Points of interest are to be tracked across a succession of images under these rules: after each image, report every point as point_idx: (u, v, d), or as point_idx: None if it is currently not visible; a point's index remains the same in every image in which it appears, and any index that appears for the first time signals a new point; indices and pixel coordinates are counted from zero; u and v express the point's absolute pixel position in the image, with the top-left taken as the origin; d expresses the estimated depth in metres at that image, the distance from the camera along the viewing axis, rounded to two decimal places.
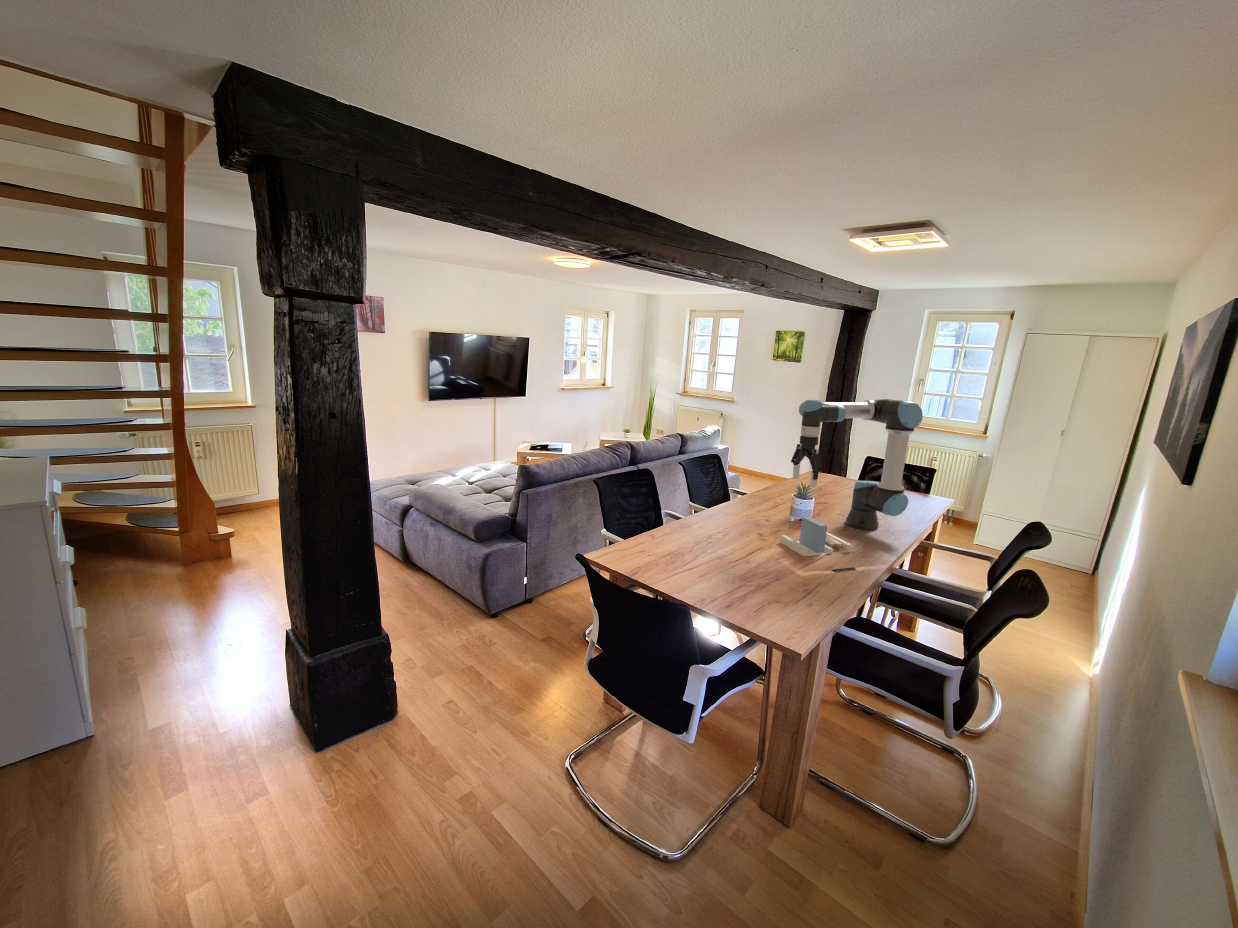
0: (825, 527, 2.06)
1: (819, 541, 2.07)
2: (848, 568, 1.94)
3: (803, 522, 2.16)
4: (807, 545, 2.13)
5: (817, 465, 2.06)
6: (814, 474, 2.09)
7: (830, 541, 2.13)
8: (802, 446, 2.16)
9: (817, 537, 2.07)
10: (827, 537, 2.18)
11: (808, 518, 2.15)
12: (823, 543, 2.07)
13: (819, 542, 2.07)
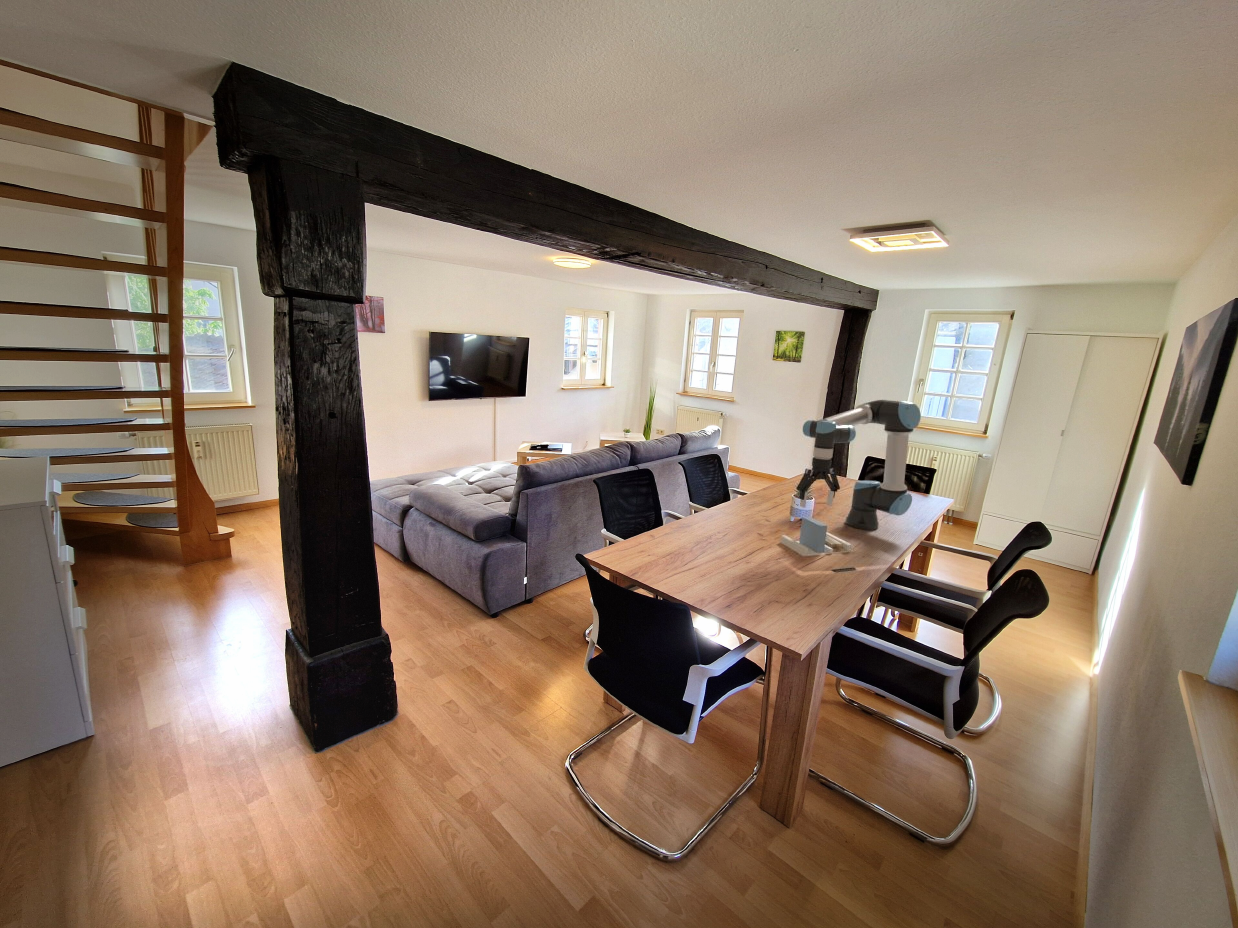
0: (825, 527, 2.06)
1: (819, 541, 2.07)
2: (848, 568, 1.94)
3: (803, 522, 2.16)
4: (807, 545, 2.13)
5: (799, 483, 2.06)
6: None
7: (830, 541, 2.13)
8: None
9: (817, 537, 2.07)
10: (827, 537, 2.18)
11: (808, 518, 2.15)
12: (823, 543, 2.07)
13: (819, 542, 2.07)
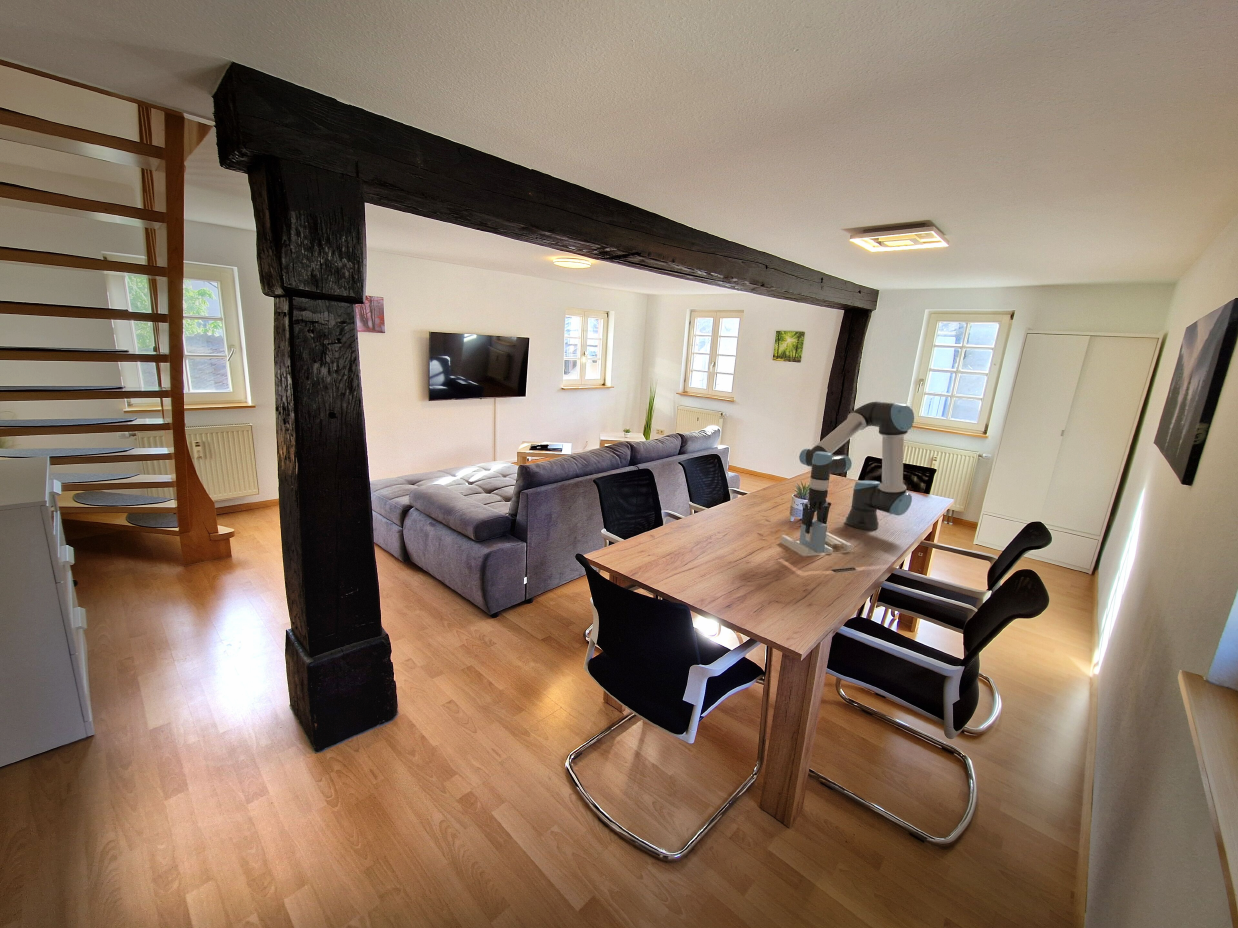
0: (825, 527, 2.06)
1: (819, 541, 2.07)
2: (848, 568, 1.94)
3: None
4: (807, 545, 2.13)
5: (802, 518, 2.10)
6: None
7: (830, 541, 2.13)
8: None
9: (817, 537, 2.07)
10: (827, 537, 2.18)
11: None
12: (823, 543, 2.07)
13: (819, 542, 2.07)
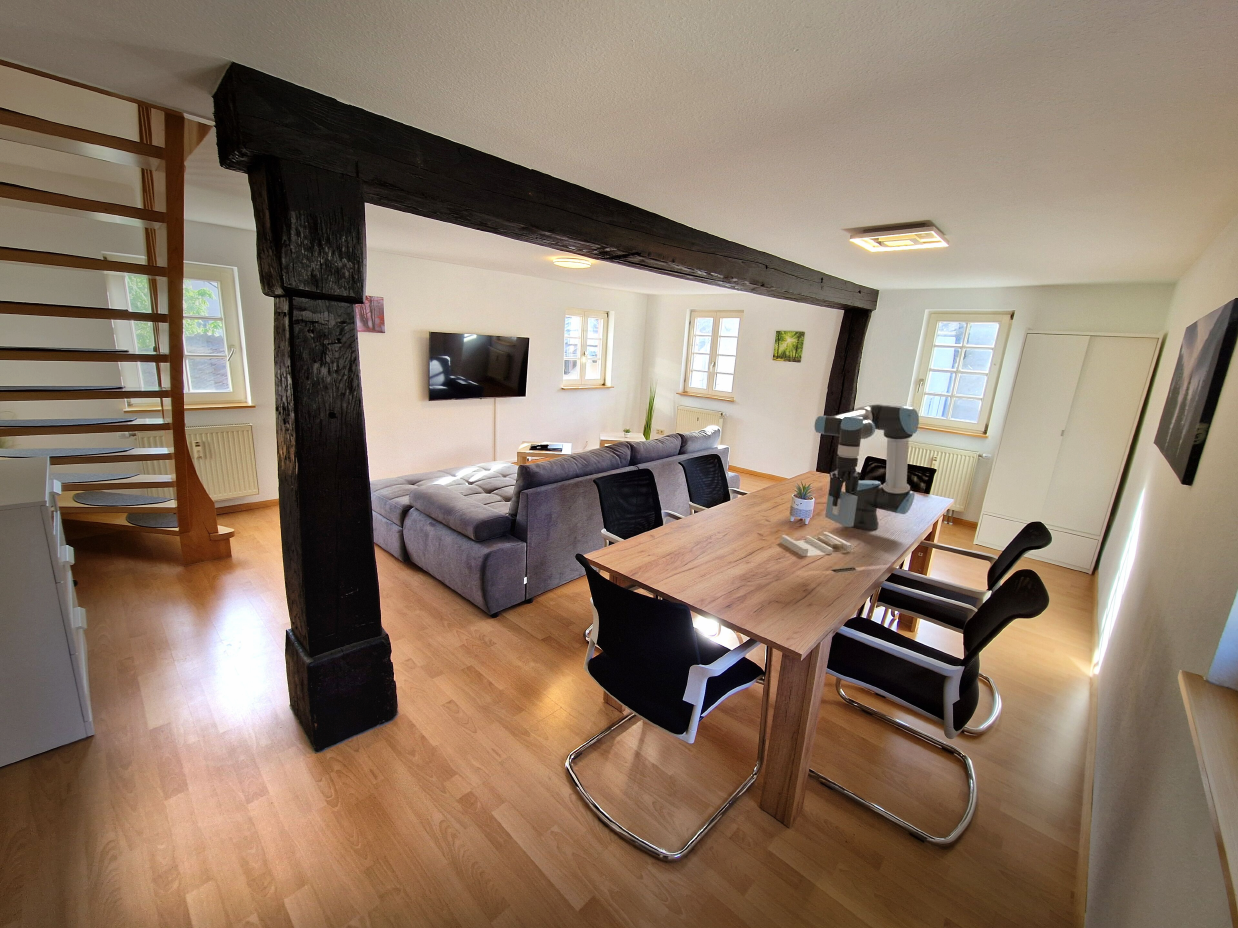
0: (855, 498, 1.88)
1: (848, 514, 1.88)
2: (848, 568, 1.94)
3: None
4: (834, 519, 1.95)
5: (830, 489, 1.92)
6: None
7: (830, 541, 2.13)
8: None
9: (846, 509, 1.89)
10: (827, 537, 2.18)
11: None
12: (853, 516, 1.89)
13: (848, 515, 1.89)
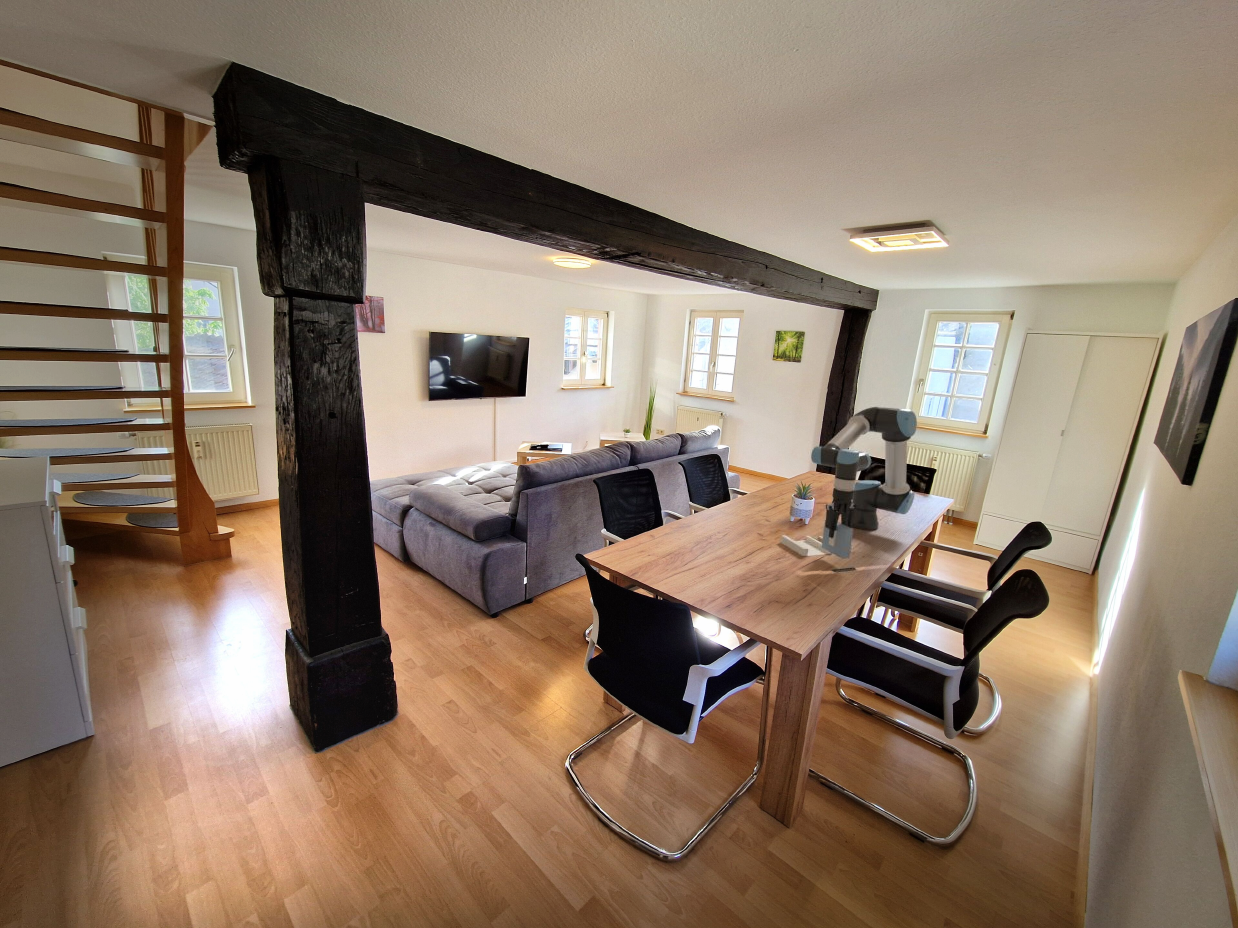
0: (851, 531, 1.90)
1: (844, 546, 1.91)
2: (848, 568, 1.94)
3: None
4: (830, 550, 1.98)
5: (826, 521, 1.94)
6: None
7: None
8: None
9: (842, 542, 1.91)
10: None
11: None
12: (849, 548, 1.92)
13: (844, 547, 1.91)
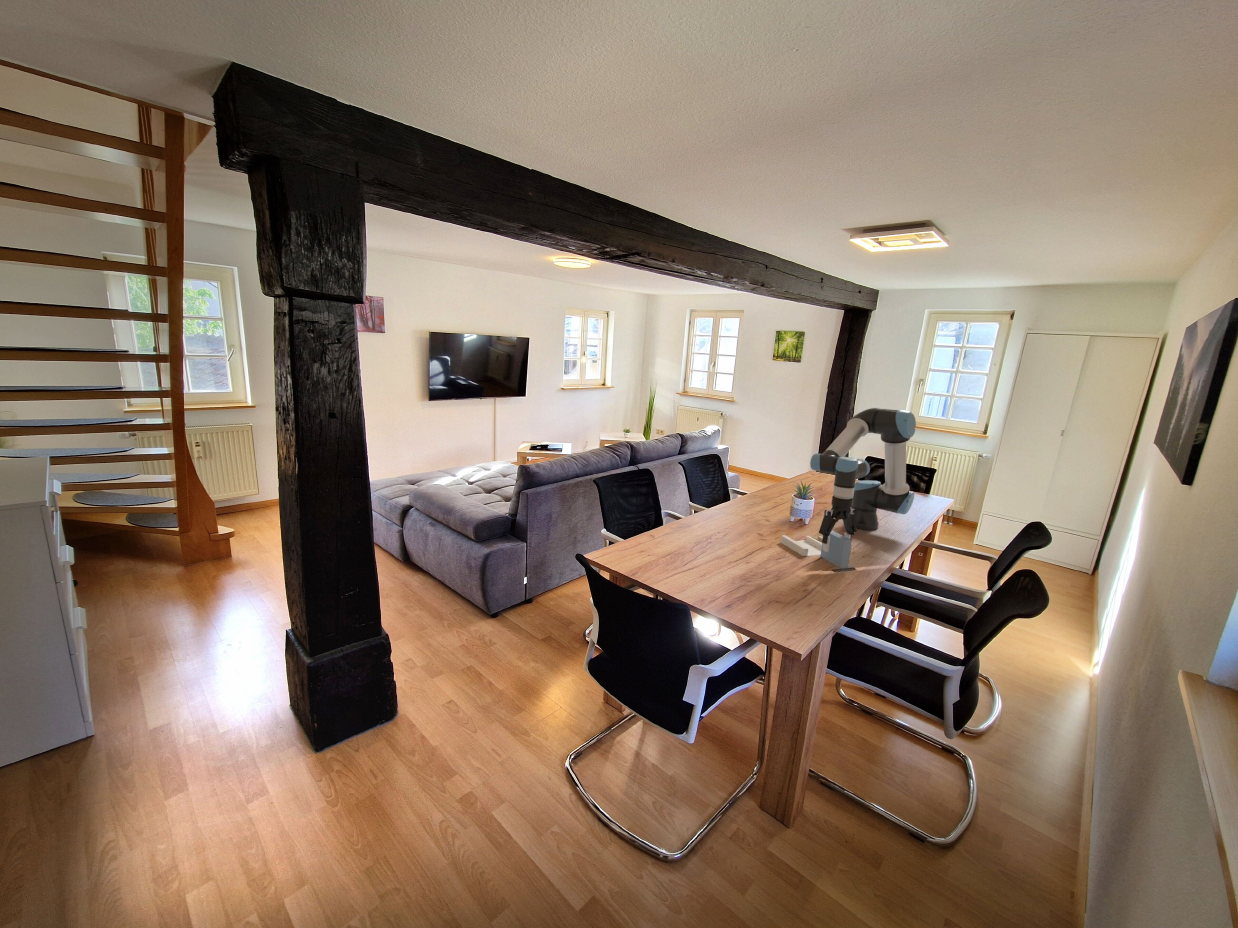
0: (849, 542, 1.91)
1: (843, 557, 1.92)
2: (848, 568, 1.94)
3: None
4: (829, 561, 1.99)
5: (821, 527, 1.94)
6: None
7: None
8: None
9: (841, 552, 1.92)
10: None
11: None
12: (847, 559, 1.93)
13: (843, 558, 1.92)
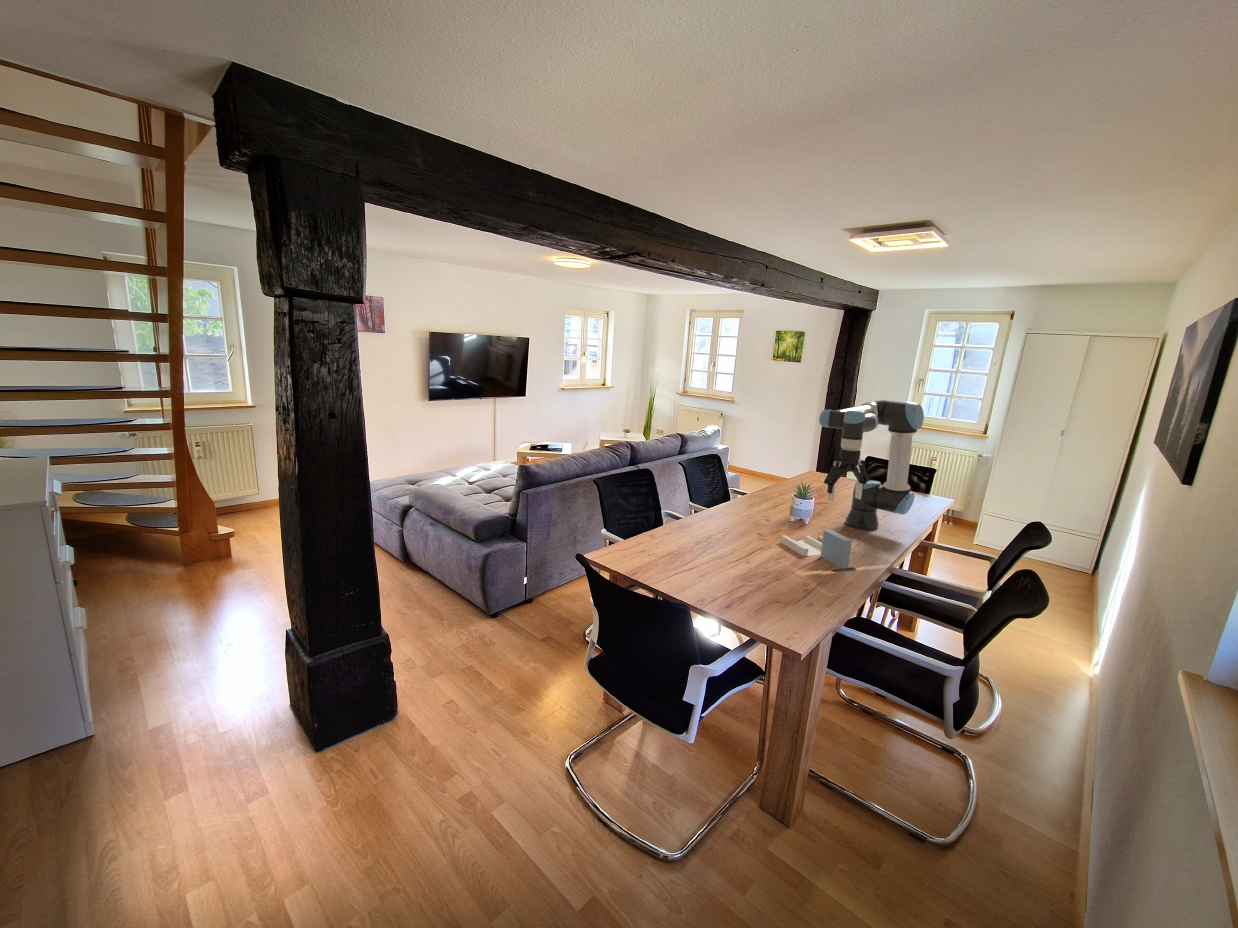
0: (849, 542, 1.91)
1: (843, 557, 1.92)
2: (848, 568, 1.94)
3: (825, 536, 2.01)
4: (829, 561, 1.99)
5: (827, 477, 1.96)
6: None
7: None
8: None
9: (841, 552, 1.92)
10: None
11: (830, 531, 2.00)
12: (847, 559, 1.93)
13: (843, 558, 1.92)
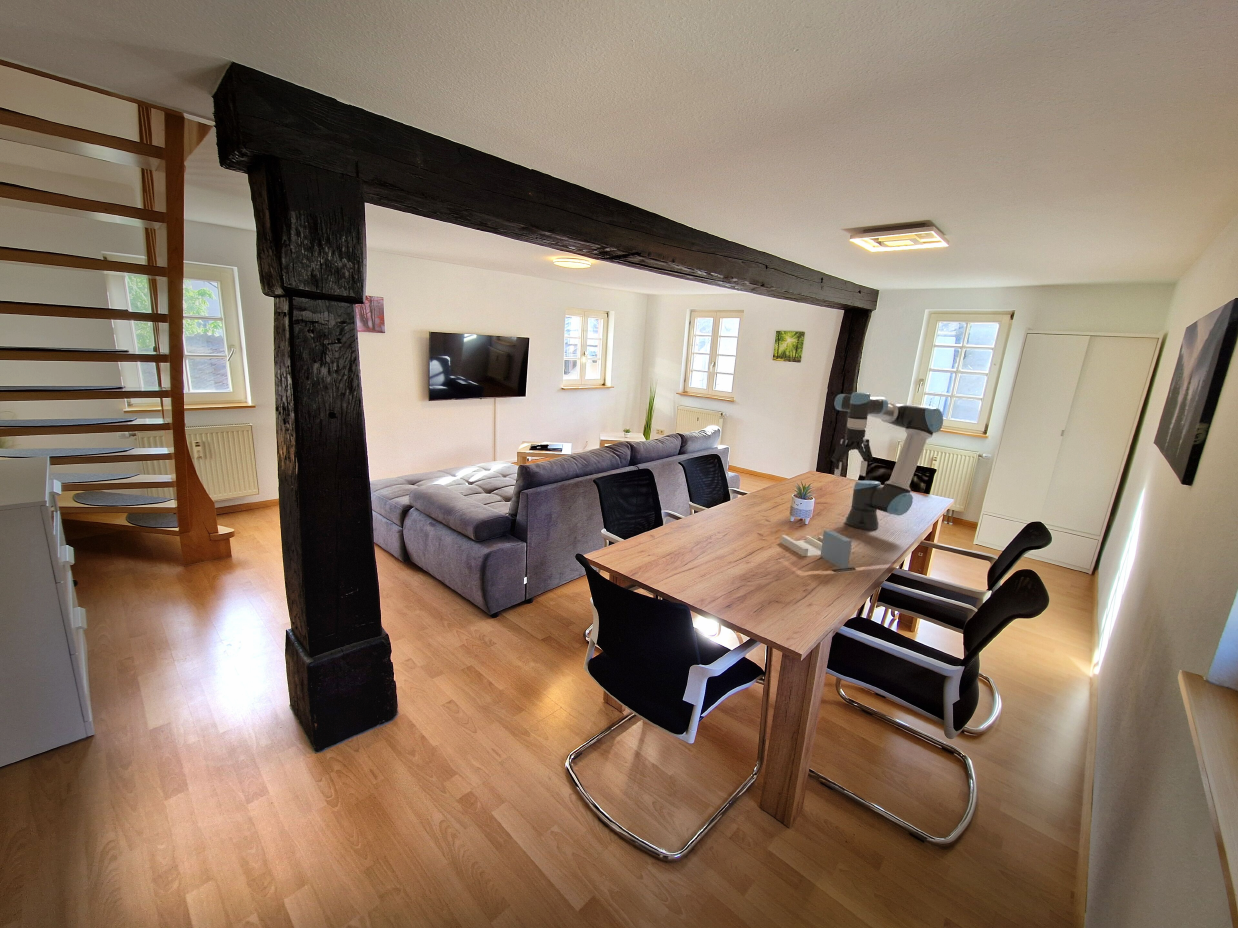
0: (849, 542, 1.91)
1: (843, 557, 1.92)
2: (848, 568, 1.94)
3: (825, 536, 2.01)
4: (829, 561, 1.99)
5: (834, 454, 2.12)
6: None
7: None
8: None
9: (841, 552, 1.92)
10: None
11: (830, 531, 2.00)
12: (847, 559, 1.93)
13: (843, 558, 1.92)
